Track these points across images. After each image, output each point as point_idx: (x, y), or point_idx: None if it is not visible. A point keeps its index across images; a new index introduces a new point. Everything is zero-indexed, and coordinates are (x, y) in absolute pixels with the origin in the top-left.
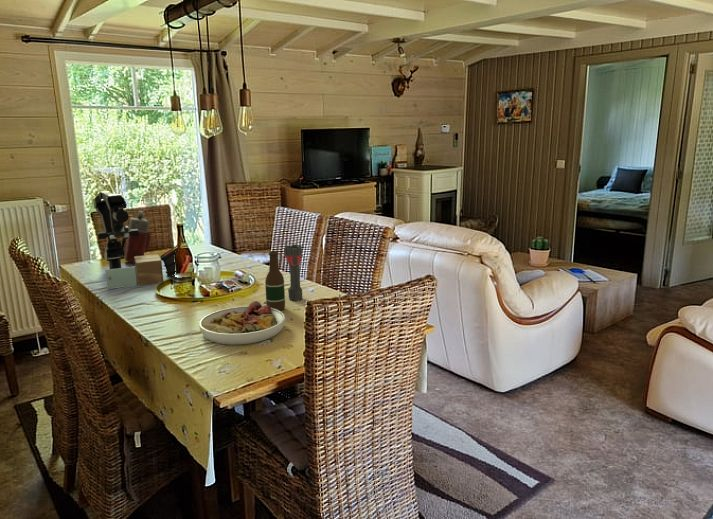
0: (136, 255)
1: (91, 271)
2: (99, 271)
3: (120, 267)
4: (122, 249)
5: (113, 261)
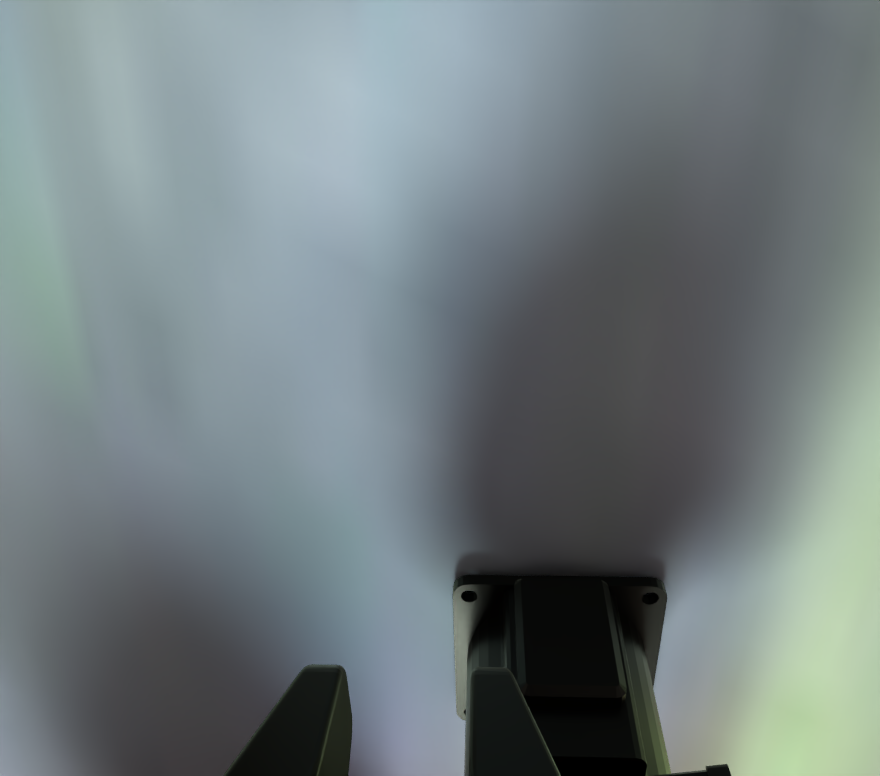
0: None
1: (875, 745)
2: (777, 705)
3: (481, 656)
4: (310, 718)
5: (602, 741)
